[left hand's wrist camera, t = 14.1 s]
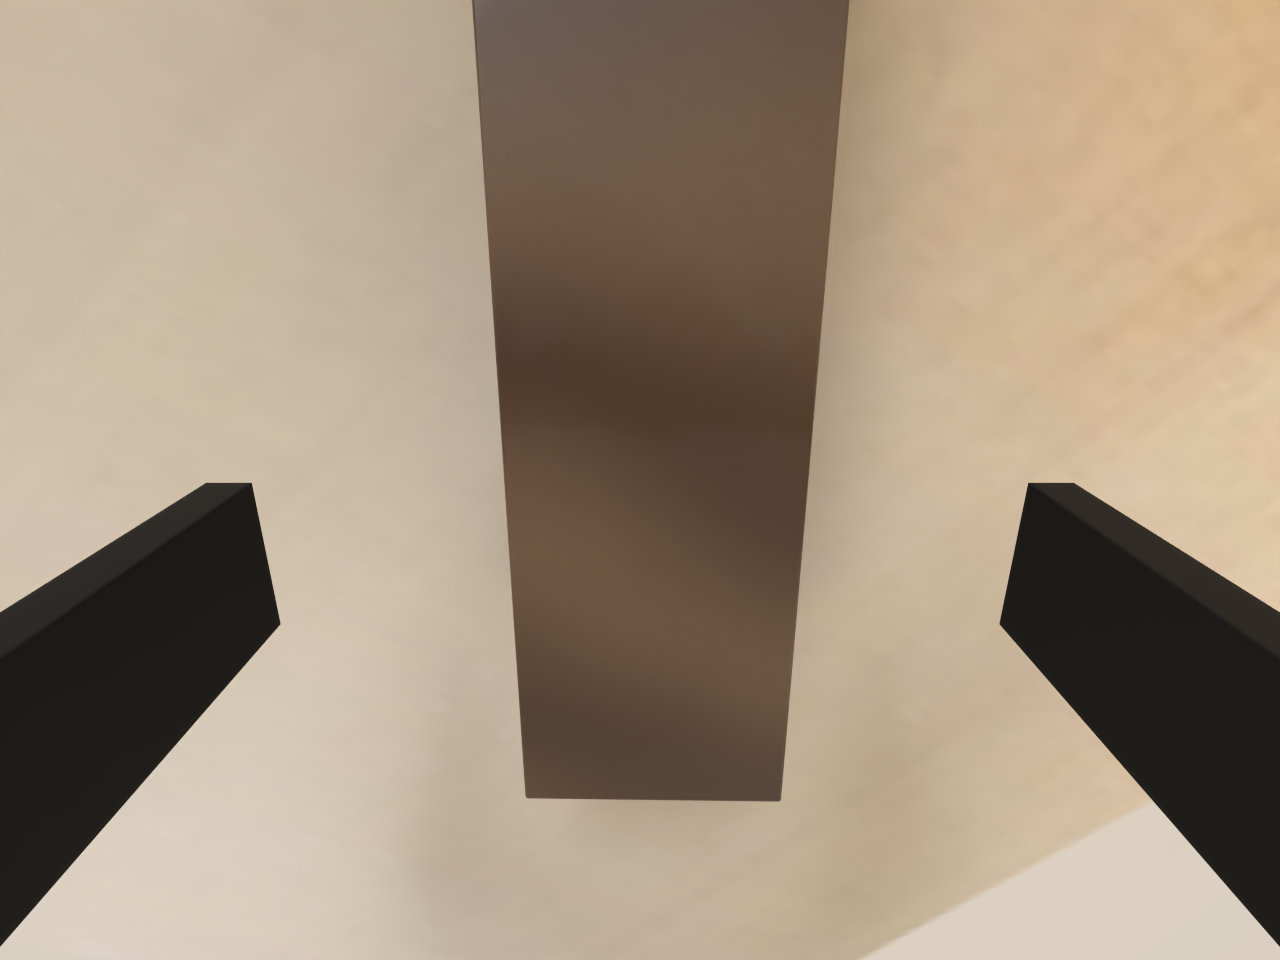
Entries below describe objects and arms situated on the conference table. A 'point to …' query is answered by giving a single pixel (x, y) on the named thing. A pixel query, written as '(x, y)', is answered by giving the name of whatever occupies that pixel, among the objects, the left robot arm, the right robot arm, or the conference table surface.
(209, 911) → the conference table surface
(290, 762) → the conference table surface
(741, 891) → the conference table surface
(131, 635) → the left robot arm
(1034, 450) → the conference table surface
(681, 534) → the beam
